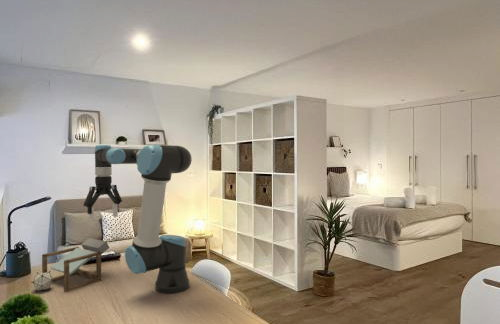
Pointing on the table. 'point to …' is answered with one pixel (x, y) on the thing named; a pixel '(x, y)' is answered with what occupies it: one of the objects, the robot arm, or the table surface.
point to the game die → (43, 281)
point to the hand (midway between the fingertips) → (103, 218)
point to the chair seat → (81, 254)
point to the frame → (80, 272)
